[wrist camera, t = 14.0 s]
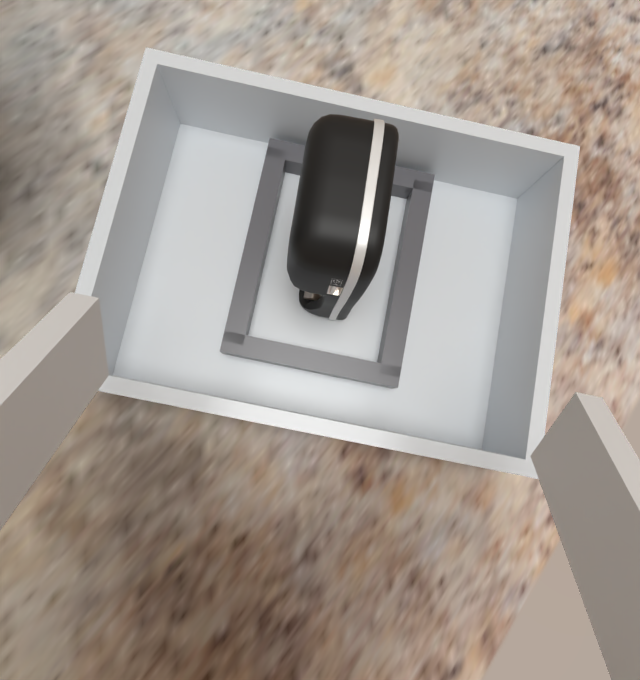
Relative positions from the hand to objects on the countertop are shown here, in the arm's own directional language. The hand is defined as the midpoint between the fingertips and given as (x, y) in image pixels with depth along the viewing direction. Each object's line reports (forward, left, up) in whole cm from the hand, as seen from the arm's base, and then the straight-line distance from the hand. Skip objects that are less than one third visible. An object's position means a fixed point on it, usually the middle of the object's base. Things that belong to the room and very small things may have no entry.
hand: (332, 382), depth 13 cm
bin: (0, +7, -15) cm, 17 cm away
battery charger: (-1, +8, -15) cm, 17 cm away
